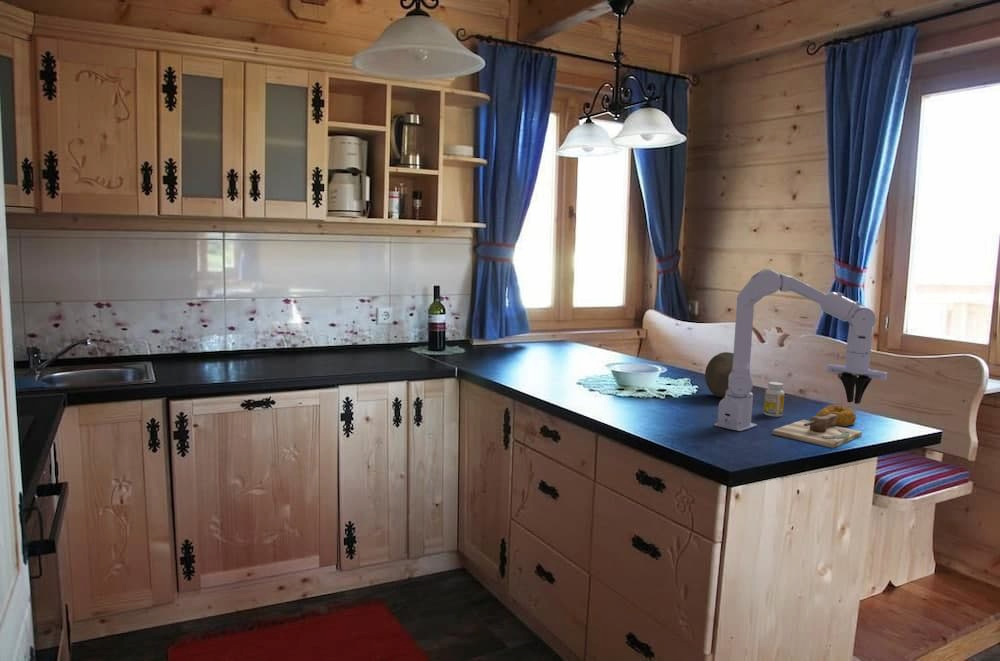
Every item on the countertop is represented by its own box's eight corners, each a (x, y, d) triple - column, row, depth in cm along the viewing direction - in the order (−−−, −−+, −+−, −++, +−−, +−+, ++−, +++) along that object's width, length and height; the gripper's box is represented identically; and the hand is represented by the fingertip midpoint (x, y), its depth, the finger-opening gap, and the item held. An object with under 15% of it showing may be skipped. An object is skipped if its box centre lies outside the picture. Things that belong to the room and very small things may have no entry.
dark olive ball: (695, 397, 235) (698, 352, 233) (715, 391, 245) (718, 348, 243) (736, 405, 225) (739, 358, 223) (755, 398, 236) (758, 353, 234)
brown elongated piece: (812, 436, 186) (813, 424, 185) (797, 432, 188) (798, 420, 188) (840, 425, 197) (841, 413, 197) (826, 422, 200) (827, 411, 200)
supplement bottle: (768, 417, 211) (771, 385, 210) (760, 412, 216) (762, 381, 215) (786, 417, 212) (788, 385, 210) (777, 412, 217) (779, 381, 216)
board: (833, 447, 181) (833, 442, 180) (772, 434, 192) (773, 428, 192) (861, 435, 193) (862, 430, 192) (803, 423, 204) (803, 418, 204)
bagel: (808, 418, 212) (809, 402, 212) (846, 419, 212) (847, 403, 211) (822, 426, 202) (824, 410, 202) (862, 427, 202) (863, 411, 201)
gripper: (893, 354, 186) (888, 405, 188) (836, 347, 196) (832, 395, 198) (883, 356, 181) (878, 409, 183) (825, 349, 192) (821, 399, 193)
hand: (853, 402), depth 190 cm, fingers closed
